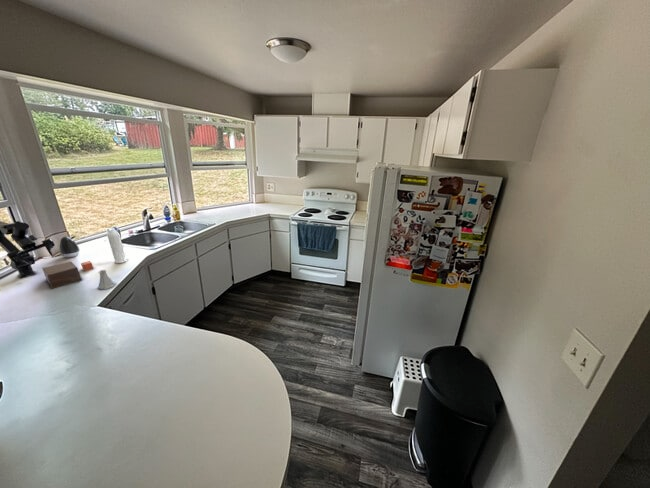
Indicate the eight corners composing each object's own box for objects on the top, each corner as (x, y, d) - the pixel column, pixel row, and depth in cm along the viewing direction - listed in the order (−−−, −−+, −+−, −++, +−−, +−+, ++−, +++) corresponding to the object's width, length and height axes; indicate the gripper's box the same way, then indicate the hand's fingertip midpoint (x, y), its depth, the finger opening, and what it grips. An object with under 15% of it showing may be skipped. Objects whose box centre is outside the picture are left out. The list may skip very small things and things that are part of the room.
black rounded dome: (83, 255, 186) (77, 236, 181) (64, 260, 178) (57, 240, 173) (78, 252, 191) (72, 233, 186) (60, 256, 183) (52, 237, 178)
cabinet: (47, 280, 150) (41, 268, 147) (75, 273, 160) (70, 261, 157) (52, 288, 142) (47, 275, 140) (81, 280, 152) (77, 267, 149)
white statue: (116, 260, 179) (106, 227, 171) (127, 258, 183) (118, 226, 174) (113, 265, 172) (103, 230, 164) (125, 263, 176) (116, 229, 167)
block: (82, 269, 166) (80, 263, 164) (91, 267, 169) (89, 260, 167) (84, 271, 163) (82, 264, 162) (93, 268, 167) (91, 262, 165)
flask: (105, 290, 142) (100, 274, 139) (95, 288, 143) (90, 273, 140) (118, 284, 149) (113, 269, 145) (108, 282, 150) (103, 267, 147)
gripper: (-6, 241, 132) (14, 262, 132) (40, 226, 145) (59, 245, 145) (2, 251, 140) (21, 271, 140) (45, 236, 153) (63, 254, 153)
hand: (42, 260), depth 144 cm, fingers open, 9 cm apart
